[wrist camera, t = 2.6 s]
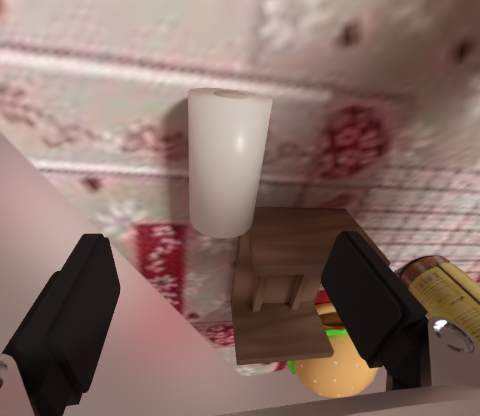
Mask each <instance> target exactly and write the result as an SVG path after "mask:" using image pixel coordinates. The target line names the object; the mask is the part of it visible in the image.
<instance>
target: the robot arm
mask: <svg viewBox="0 0 480 416" xmlns="http://www.w3.org/2000/svg"><path fill="white" fill-rule="evenodd" d="M321 283H322V285H323V287H324V289H325V291H326V293H327V295H328V297H329V299H330V301H331V302H332V304H333V306H334V308H335V310H336V312H337V314H338V316H339V318H340V320H341V321H342V323H343V325H344V327H345V329H346V331H347V333H348V335H349V337H350V339H351V340H352V342H353V344H354V346H355V348H356V350H357V352H358V354H359V355H360V357H361V358H362V359H363V360H365V361H366V363H367V365H368V367H369V368H377V367H382V366H383V365H384V367H385V368H386V370H387V381H386V392H379V393H372V394H364V395H357V396H350V397H342V398H335V399H328V400H321V401H315V402H307V403H300V404H293V405H286V406H279V407H272V408H265V409H258V410H252V411H244V412H237V413H230V414H224V415H218V416H480V347H479V345H478V343H477V341H476V340H475V339H474V337H473V336H472V335H471V334H470V333H469V332H468V331H467V330H466V329H465V328H463V327H462V326H460V325H459V324H458V323H456V322H454V321H452V320H450V319H447V318H444V317H439V316H435V317H431V318H430V319H429V320H428V318H427V317H426V316H425V315H426V314H427V313H428V311H427V310H426V309H425V308H424V307H423V305H422V304H421V303H420V302H419V301H418V300H417V299H416V297H415V296H414V295H413V294H412V293H411V292H410V291H409V289H408V288H407V287H406V286H405V285H404V284H403V283H402V281H401V280H400V279H399V278H398V277H397V276H396V275H395V273H394V272H393V271H392V270H391V269H390V268H389V267H388V265H387V264H386V263H385V262H384V261H383V260H382V259H381V257H380V256H379V255H378V254H377V253H376V252H375V251H374V249H373V248H372V247H371V246H370V245H369V244H368V243H367V241H366V240H365V239H364V238H363V237H362V236H361V235H360V233H359V232H357V231H342V232H341V233H340V234H339V235H337V237H336V240H335V242H334V245H333V247H332V250H331V252H330V255H329V257H328V260H327V262H326V265H325V267H324V270H323V272H322V275H321ZM119 294H120V283H119V279H118V275H117V271H116V267H115V262H114V258H113V254H112V250H111V246H110V242H109V239H108V238H107V237H104V236H103V235H102V234H83V235H82V237H81V238H80V240H79V241H78V243H77V245H76V246H75V248H74V250H73V251H72V253H71V254H70V256H69V258H68V259H67V261H66V263H65V264H64V266H63V268H62V269H61V271H57V272H55V273H54V274H53V275H52V276H51V277H50V279H49V281H48V282H47V284H46V285H45V287H44V288H43V290H42V292H41V293H40V295H39V296H38V298H37V299H36V301H35V303H34V304H33V306H32V307H31V309H30V310H29V312H28V313H27V315H26V317H25V318H24V319H23V321H22V323H21V324H20V326H19V327H18V329H17V330H16V332H15V334H14V335H13V337H12V338H11V340H10V341H9V343H8V344H7V346H6V347H5V349H4V351H3V352H2V354H0V416H63V413H64V410H65V408H66V406H69V405H76V404H79V402H80V399H81V396H82V393H86V392H87V391H88V390H89V388H90V385H91V382H92V379H93V376H94V373H95V370H96V367H97V364H98V361H99V357H100V354H101V351H102V348H103V345H104V342H105V339H106V335H107V332H108V329H109V326H110V323H111V320H112V317H113V313H114V310H115V307H116V304H117V301H118V298H119Z"/></svg>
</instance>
